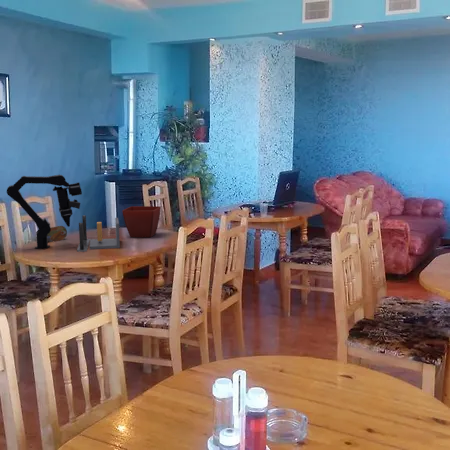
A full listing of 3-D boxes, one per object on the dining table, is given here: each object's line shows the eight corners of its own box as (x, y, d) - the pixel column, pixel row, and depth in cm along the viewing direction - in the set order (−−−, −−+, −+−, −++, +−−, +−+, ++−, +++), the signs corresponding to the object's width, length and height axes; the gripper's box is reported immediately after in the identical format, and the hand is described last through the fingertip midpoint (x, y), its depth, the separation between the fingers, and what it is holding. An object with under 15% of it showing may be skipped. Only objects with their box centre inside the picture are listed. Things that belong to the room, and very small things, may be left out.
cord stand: (76, 252, 322) (75, 223, 320) (81, 241, 353) (79, 215, 351) (86, 251, 323) (85, 223, 320) (89, 240, 354) (88, 215, 352)
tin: (46, 243, 348) (45, 228, 346) (43, 242, 350) (42, 228, 348) (67, 239, 359) (66, 225, 358) (64, 238, 361) (63, 224, 360)
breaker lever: (97, 243, 337) (96, 223, 335) (97, 241, 342) (97, 222, 340) (102, 243, 337) (101, 223, 336) (102, 241, 342) (101, 221, 340)
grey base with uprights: (89, 249, 328) (88, 224, 326) (90, 241, 349) (89, 218, 347) (119, 248, 331) (118, 223, 329) (118, 240, 352) (117, 217, 350)
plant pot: (122, 238, 360) (121, 210, 357) (131, 232, 379) (131, 206, 376) (154, 239, 357) (153, 210, 355) (161, 233, 376) (161, 206, 373)
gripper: (79, 196, 327) (84, 225, 330) (76, 193, 344) (81, 220, 347) (58, 200, 324) (63, 229, 327) (56, 196, 341) (61, 223, 344)
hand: (68, 225), depth 336 cm, fingers open, 9 cm apart
